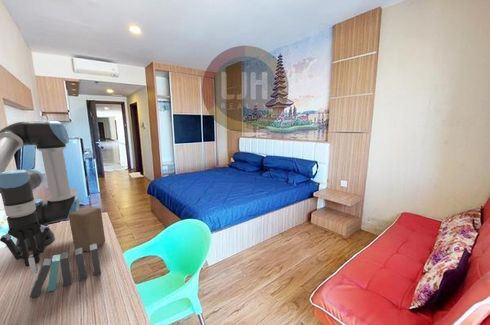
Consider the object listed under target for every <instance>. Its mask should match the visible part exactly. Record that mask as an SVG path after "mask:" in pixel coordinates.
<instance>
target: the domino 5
mask: <svg viewBox="0 0 490 325" xmlns="http://www.w3.org/2000/svg"><path fill="white" fill-rule="evenodd" d="M90 256H91V263H92V269H93V275H94V277H96V276H98V275H101V274H102V272H101V271H102V270H101V264H100V257H99V251H98V247H97V245H96V244H92V245H90Z"/></svg>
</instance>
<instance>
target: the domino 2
mask: <svg viewBox="0 0 490 325" xmlns="http://www.w3.org/2000/svg"><path fill="white" fill-rule="evenodd" d="M51 259H52V264H51V267H50V270H49V276H48V278H49V279H48V284H47V293H48V292H54V291H56V288H57V284H58V278H59V277H58V276H59V269H60V265H61V263H60V254H54V255H52V258H51Z"/></svg>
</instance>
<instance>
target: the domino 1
mask: <svg viewBox="0 0 490 325" xmlns="http://www.w3.org/2000/svg"><path fill="white" fill-rule="evenodd" d="M51 264H52V258H44V259H43V261H42V264H41V265H40V268H39V269H38V272H37V275H36V278H35V280H34V283H33V284H32V287H31V289H30V293H29V294H30V295H29V298H35V297H37V298H38V297H39V296H40V293H41V291H42V290H43V286H44V284H45V281H46V280H47V279H46V278H47V277H48V274H49V273H50V270H51Z"/></svg>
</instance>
